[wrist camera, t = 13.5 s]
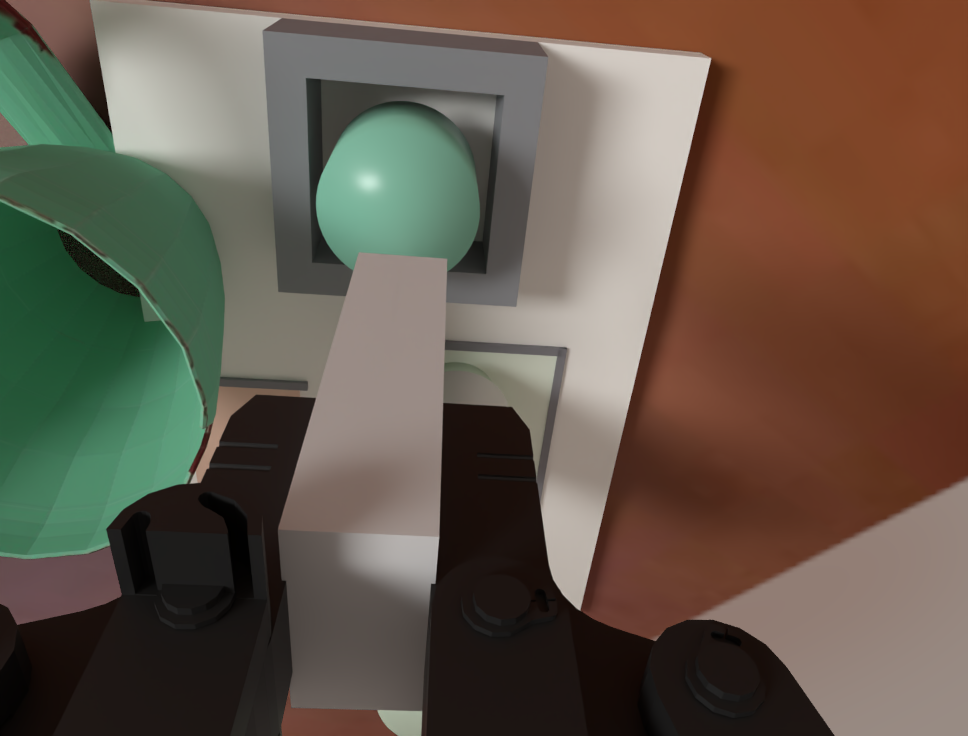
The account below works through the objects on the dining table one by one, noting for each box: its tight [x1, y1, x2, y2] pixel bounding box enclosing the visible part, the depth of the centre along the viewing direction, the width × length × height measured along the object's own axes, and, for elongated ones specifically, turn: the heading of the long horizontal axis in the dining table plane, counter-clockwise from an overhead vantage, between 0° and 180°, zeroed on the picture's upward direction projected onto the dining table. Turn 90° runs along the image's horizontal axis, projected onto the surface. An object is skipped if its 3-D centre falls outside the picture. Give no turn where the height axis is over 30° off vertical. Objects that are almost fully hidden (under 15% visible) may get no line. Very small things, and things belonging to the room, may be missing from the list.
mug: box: [0, 0, 225, 559], centre depth 19 cm, size 15×10×10 cm
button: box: [316, 101, 480, 271], centre depth 19 cm, size 4×4×3 cm
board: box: [90, 0, 711, 610], centre depth 26 cm, size 17×24×4 cm
